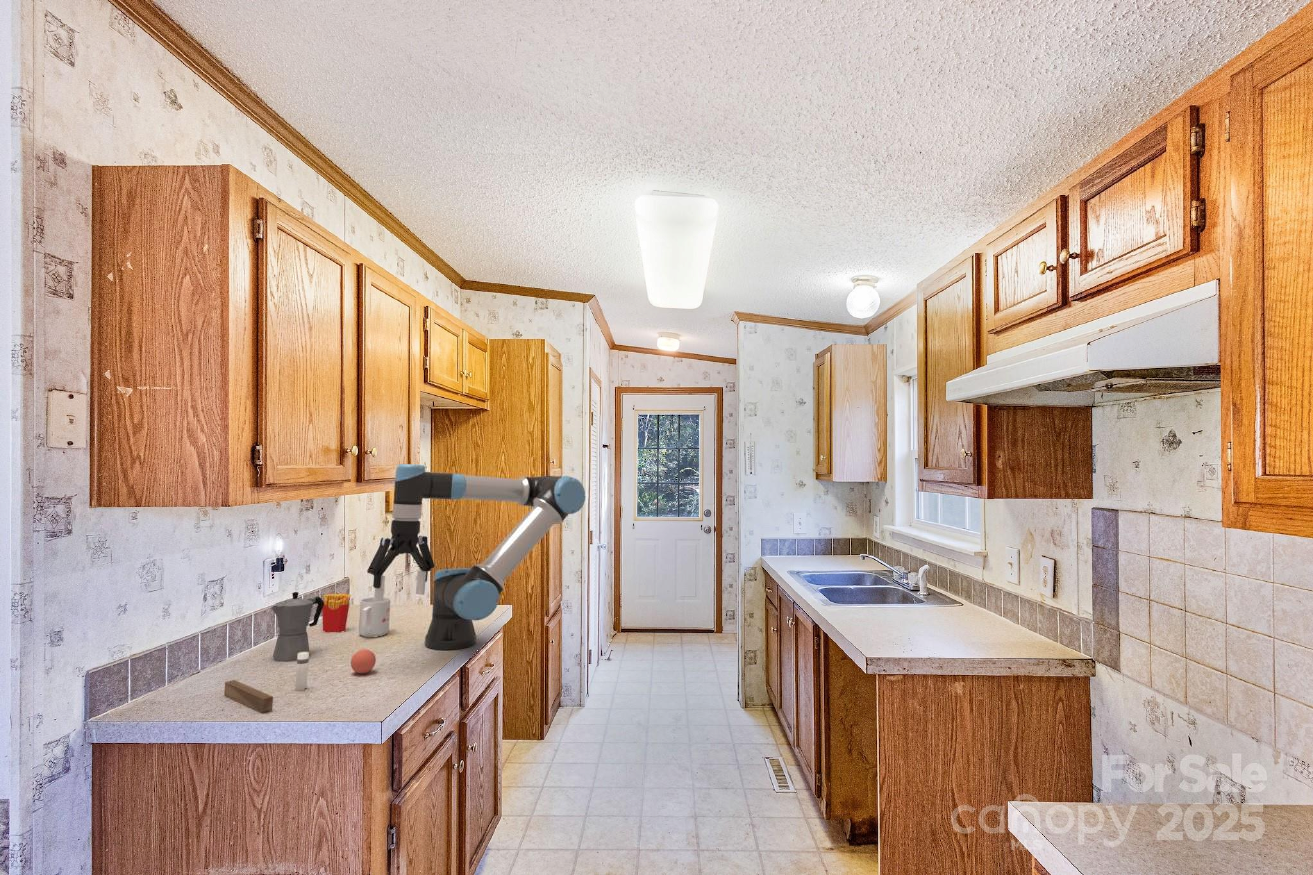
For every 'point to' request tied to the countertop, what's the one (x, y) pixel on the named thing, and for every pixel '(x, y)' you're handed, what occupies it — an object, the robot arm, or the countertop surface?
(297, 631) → the coffeepot
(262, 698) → the long wooden block
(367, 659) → the ball
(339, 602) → the french fries
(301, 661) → the pin
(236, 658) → the countertop surface
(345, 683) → the countertop surface
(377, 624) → the mug
